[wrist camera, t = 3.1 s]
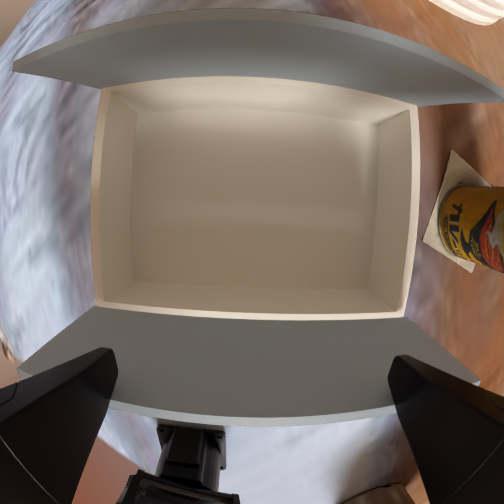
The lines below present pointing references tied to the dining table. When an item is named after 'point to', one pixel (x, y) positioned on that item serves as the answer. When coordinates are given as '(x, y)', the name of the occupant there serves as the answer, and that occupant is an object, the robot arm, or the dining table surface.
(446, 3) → the plate stack
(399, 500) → the plant pot
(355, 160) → the carton
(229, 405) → the flap
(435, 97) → the flap
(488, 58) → the dining table surface
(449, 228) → the condiment
